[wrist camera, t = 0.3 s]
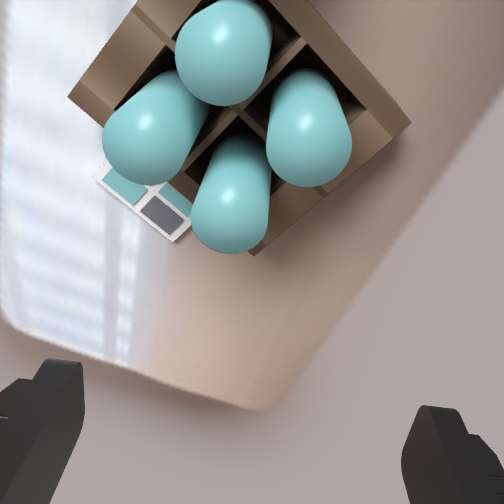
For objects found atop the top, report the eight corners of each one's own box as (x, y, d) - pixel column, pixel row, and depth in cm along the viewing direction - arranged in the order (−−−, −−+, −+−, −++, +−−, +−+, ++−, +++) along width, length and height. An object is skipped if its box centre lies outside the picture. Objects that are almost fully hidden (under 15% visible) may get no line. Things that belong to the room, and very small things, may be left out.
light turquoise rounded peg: (240, 120, 27) (226, 169, 21) (284, 163, 28) (283, 221, 22) (199, 162, 29) (174, 220, 22) (243, 201, 30) (231, 266, 24)
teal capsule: (236, -23, 24) (217, -17, 17) (287, 33, 25) (286, 58, 18) (189, 34, 25) (156, 59, 19) (239, 84, 26) (224, 124, 20)
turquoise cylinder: (305, 53, 25) (311, 84, 19) (350, 102, 26) (369, 147, 20) (258, 102, 27) (248, 147, 20) (302, 146, 28) (306, 202, 21)
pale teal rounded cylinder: (173, 54, 26) (134, 85, 19) (222, 102, 27) (202, 147, 20) (133, 102, 27) (86, 146, 21) (182, 146, 28) (151, 200, 22)
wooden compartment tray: (224, -95, 24) (214, -104, 21) (396, 103, 29) (411, 123, 25) (93, 80, 29) (67, 96, 26) (257, 226, 34) (253, 256, 30)
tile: (133, 127, 30) (129, 131, 30) (214, 199, 33) (213, 204, 32) (94, 173, 32) (90, 178, 32) (174, 238, 35) (172, 243, 34)
